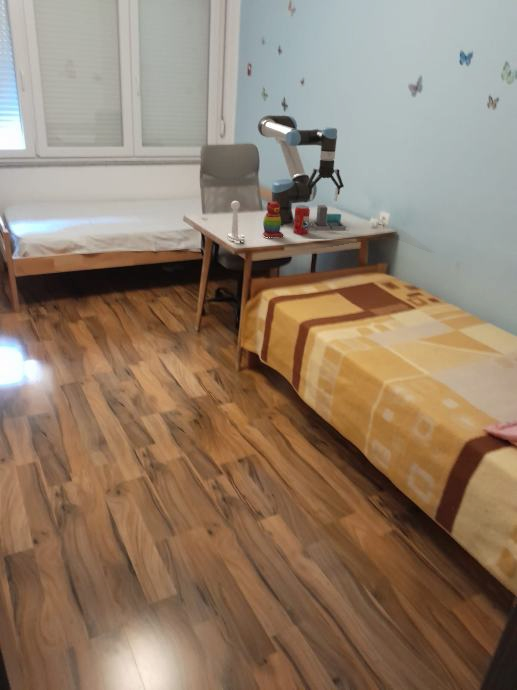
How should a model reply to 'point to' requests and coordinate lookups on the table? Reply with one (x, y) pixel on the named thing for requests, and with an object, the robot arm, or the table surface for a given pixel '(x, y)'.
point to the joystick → (235, 223)
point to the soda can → (301, 220)
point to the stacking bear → (272, 221)
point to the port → (335, 222)
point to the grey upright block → (321, 215)
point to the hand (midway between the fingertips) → (323, 200)
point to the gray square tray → (324, 228)
